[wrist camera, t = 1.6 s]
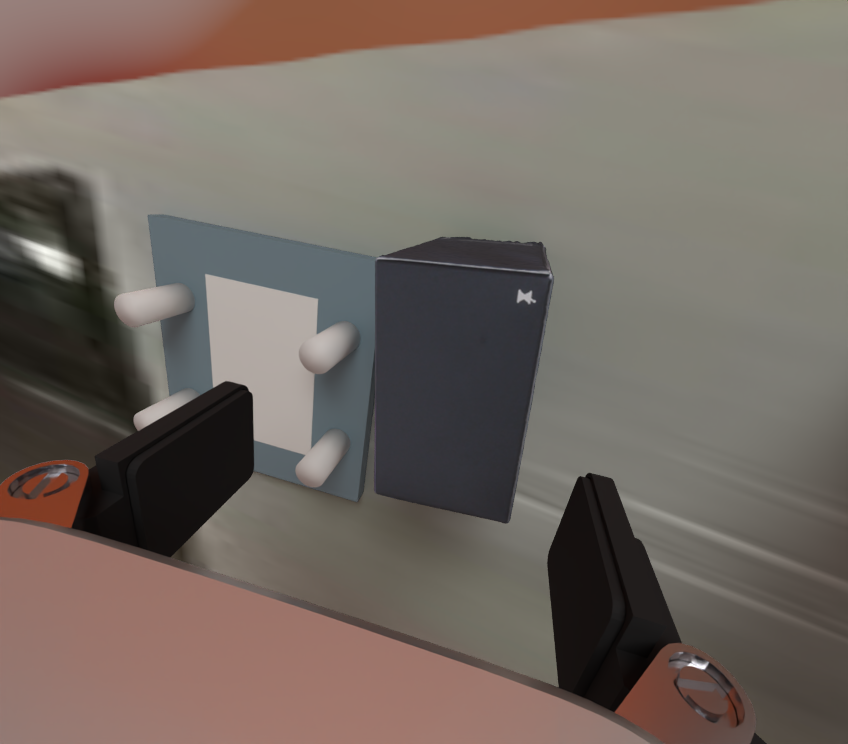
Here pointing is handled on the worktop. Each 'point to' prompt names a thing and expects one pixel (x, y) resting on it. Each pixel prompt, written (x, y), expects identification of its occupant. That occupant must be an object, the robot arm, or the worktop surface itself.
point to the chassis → (268, 342)
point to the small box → (457, 370)
